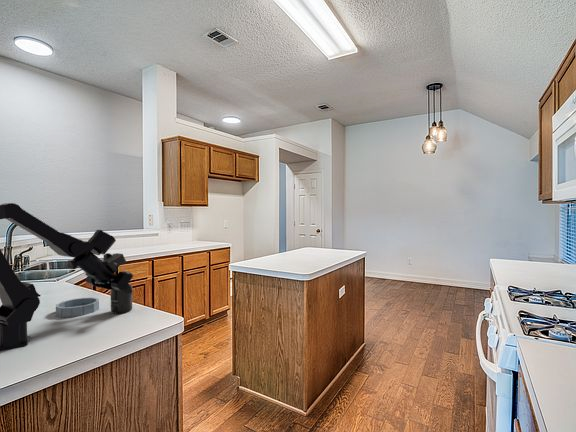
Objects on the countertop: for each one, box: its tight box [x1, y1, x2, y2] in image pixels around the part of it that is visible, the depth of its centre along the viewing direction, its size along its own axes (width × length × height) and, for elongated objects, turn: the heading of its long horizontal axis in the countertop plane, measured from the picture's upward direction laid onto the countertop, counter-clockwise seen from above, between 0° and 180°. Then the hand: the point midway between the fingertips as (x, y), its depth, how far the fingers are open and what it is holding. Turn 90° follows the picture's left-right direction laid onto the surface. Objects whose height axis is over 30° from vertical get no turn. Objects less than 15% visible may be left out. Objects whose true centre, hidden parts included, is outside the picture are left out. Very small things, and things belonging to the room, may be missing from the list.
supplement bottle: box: [110, 283, 133, 315], centre depth 110 cm, size 7×7×12 cm
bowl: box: [55, 297, 100, 318], centre depth 111 cm, size 13×13×3 cm
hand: (125, 291), depth 112 cm, fingers closed on supplement bottle, 7 cm apart
